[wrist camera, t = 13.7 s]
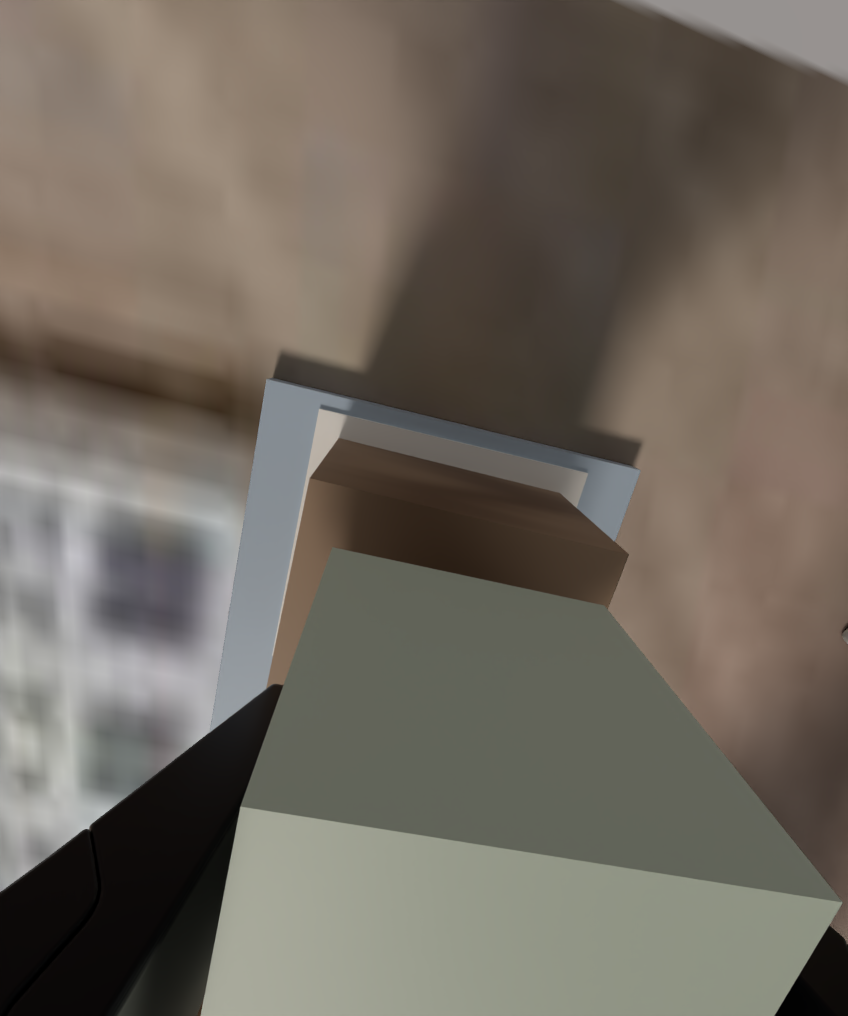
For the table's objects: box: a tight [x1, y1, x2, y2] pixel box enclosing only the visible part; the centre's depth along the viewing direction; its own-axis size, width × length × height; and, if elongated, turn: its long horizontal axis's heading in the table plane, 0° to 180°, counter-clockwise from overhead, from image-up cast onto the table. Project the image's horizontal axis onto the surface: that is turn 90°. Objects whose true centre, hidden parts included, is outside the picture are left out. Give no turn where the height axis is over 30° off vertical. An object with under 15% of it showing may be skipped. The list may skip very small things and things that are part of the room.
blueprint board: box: [210, 378, 641, 732], centre depth 16 cm, size 10×12×1 cm
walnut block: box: [266, 438, 629, 689], centre depth 12 cm, size 6×6×4 cm
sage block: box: [201, 547, 843, 1016], centre depth 7 cm, size 5×5×5 cm
